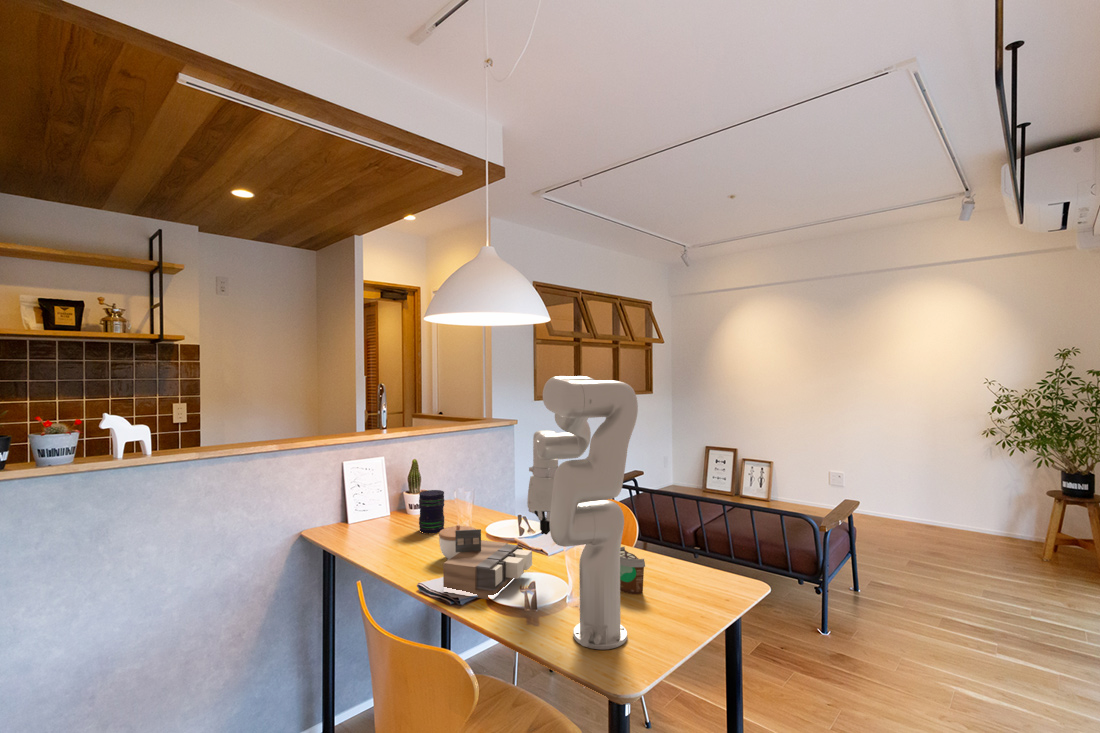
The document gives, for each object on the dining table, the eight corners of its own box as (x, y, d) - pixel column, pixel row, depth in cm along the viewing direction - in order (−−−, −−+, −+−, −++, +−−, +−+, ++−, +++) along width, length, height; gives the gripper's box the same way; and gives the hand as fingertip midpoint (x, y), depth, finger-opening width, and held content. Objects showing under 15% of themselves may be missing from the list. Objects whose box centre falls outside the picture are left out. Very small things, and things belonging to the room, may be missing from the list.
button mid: (517, 578, 150) (517, 563, 150) (501, 576, 152) (501, 561, 152) (523, 573, 154) (523, 558, 154) (507, 571, 156) (507, 556, 156)
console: (493, 600, 143) (492, 545, 143) (438, 591, 148) (438, 539, 149) (523, 571, 163) (523, 524, 164) (475, 565, 169) (475, 519, 169)
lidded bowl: (432, 557, 176) (432, 524, 177) (464, 549, 185) (464, 518, 185) (450, 568, 167) (450, 533, 167) (484, 559, 175) (484, 525, 175)
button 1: (495, 586, 144) (495, 570, 145) (479, 584, 146) (479, 568, 146) (502, 580, 149) (502, 565, 149) (486, 578, 150) (486, 563, 150)
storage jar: (415, 534, 203) (415, 495, 203) (422, 526, 213) (422, 489, 213) (441, 534, 203) (441, 495, 203) (447, 526, 213) (447, 489, 213)
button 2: (526, 570, 156) (526, 555, 157) (511, 568, 158) (511, 553, 158) (532, 565, 161) (532, 550, 161) (517, 563, 162) (517, 549, 162)
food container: (605, 582, 154) (605, 548, 155) (623, 579, 157) (623, 545, 157) (625, 599, 143) (625, 562, 143) (645, 595, 145) (645, 559, 145)
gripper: (517, 472, 156) (517, 534, 156) (565, 476, 151) (565, 539, 151) (527, 468, 163) (527, 526, 163) (573, 471, 158) (573, 531, 158)
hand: (545, 532), depth 157 cm, fingers closed
